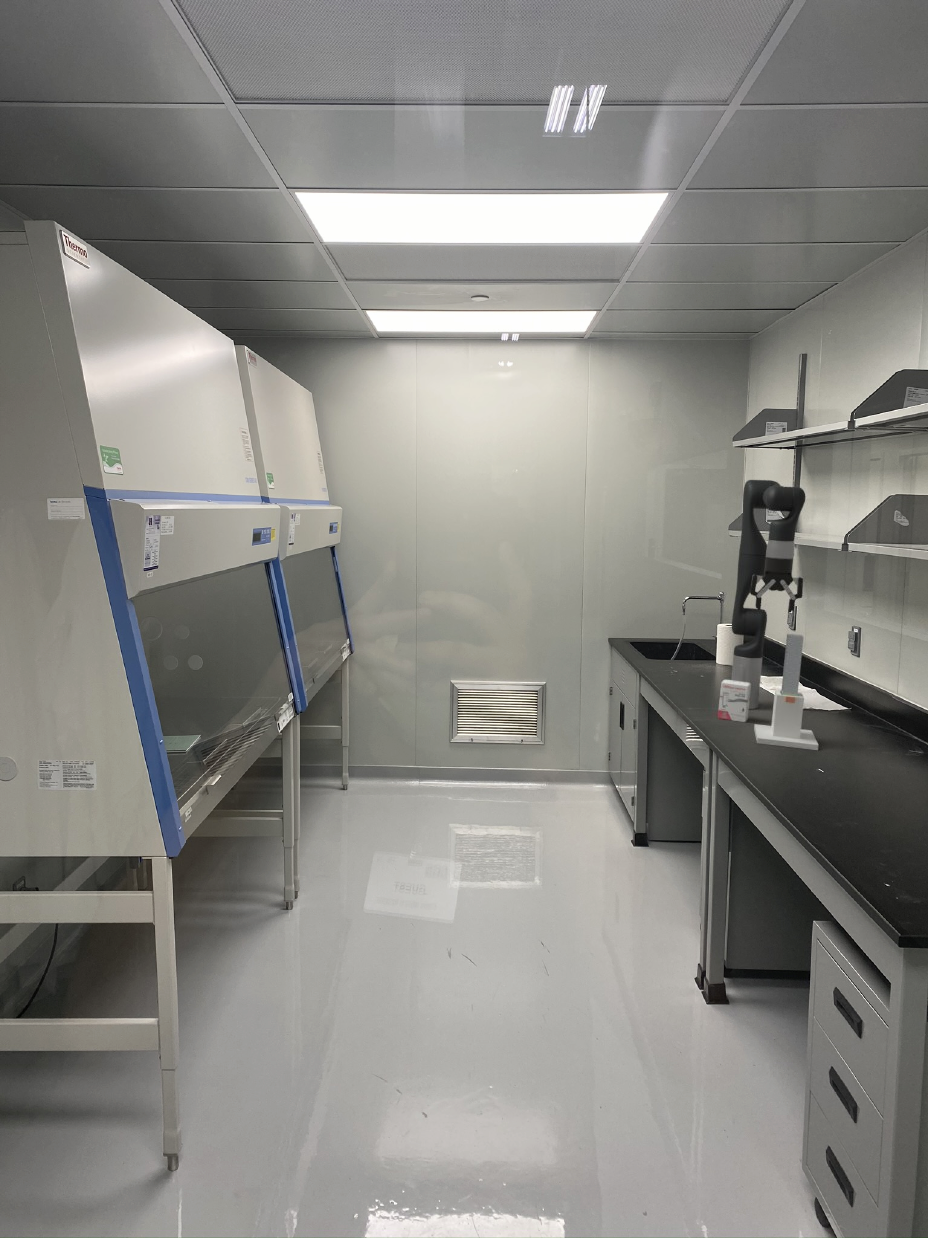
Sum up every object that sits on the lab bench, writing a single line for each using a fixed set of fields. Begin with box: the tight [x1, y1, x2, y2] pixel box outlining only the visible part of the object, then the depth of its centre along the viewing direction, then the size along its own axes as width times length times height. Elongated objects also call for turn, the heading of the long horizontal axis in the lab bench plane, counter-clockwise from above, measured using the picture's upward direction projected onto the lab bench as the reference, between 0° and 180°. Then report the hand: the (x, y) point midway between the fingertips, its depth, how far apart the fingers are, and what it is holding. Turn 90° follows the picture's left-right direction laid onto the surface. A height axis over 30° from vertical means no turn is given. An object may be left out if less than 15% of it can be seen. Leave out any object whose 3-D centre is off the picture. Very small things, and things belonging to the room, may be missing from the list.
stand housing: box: [753, 689, 819, 751], centre depth 234 cm, size 16×16×14 cm
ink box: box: [717, 679, 751, 723], centre depth 256 cm, size 9×5×12 cm, turn 62°
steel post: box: [780, 633, 804, 696], centre depth 233 cm, size 4×4×22 cm
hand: (774, 611), depth 239 cm, fingers open, 8 cm apart
